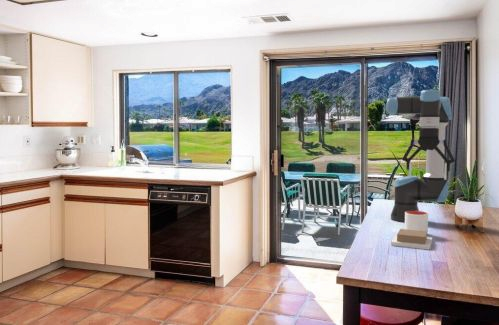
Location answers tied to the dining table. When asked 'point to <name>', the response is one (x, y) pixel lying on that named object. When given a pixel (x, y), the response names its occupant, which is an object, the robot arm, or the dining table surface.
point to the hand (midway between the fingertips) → (427, 178)
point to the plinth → (413, 245)
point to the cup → (416, 220)
